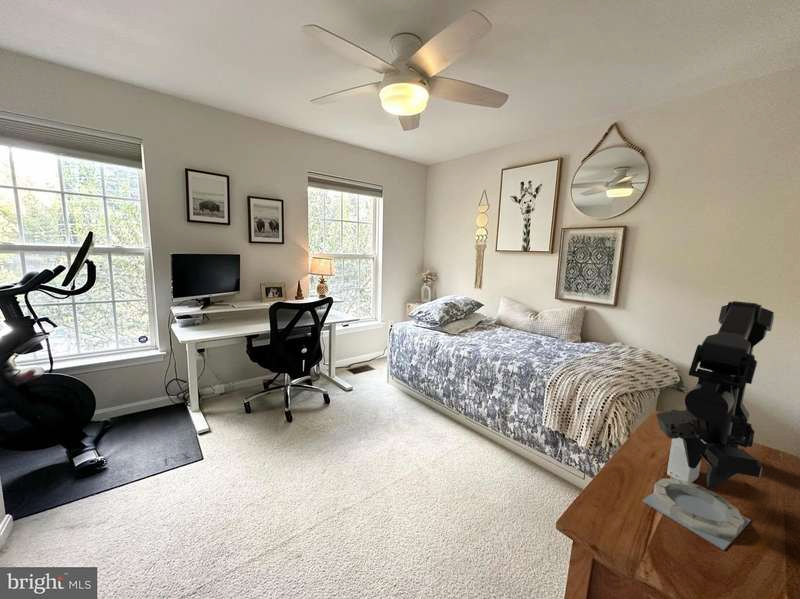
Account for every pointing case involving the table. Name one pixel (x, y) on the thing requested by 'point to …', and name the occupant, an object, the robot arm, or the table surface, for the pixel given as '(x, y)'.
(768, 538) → the table surface
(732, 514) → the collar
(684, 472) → the skincare box
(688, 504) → the grey base plate
